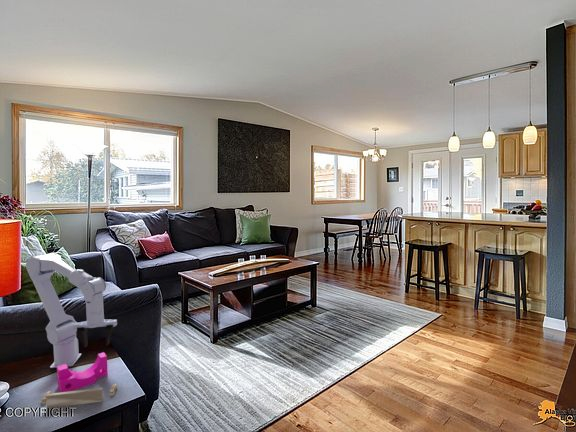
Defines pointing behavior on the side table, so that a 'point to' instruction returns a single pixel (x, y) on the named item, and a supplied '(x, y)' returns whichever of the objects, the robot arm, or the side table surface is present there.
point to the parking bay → (75, 397)
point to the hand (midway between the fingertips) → (96, 345)
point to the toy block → (81, 375)
